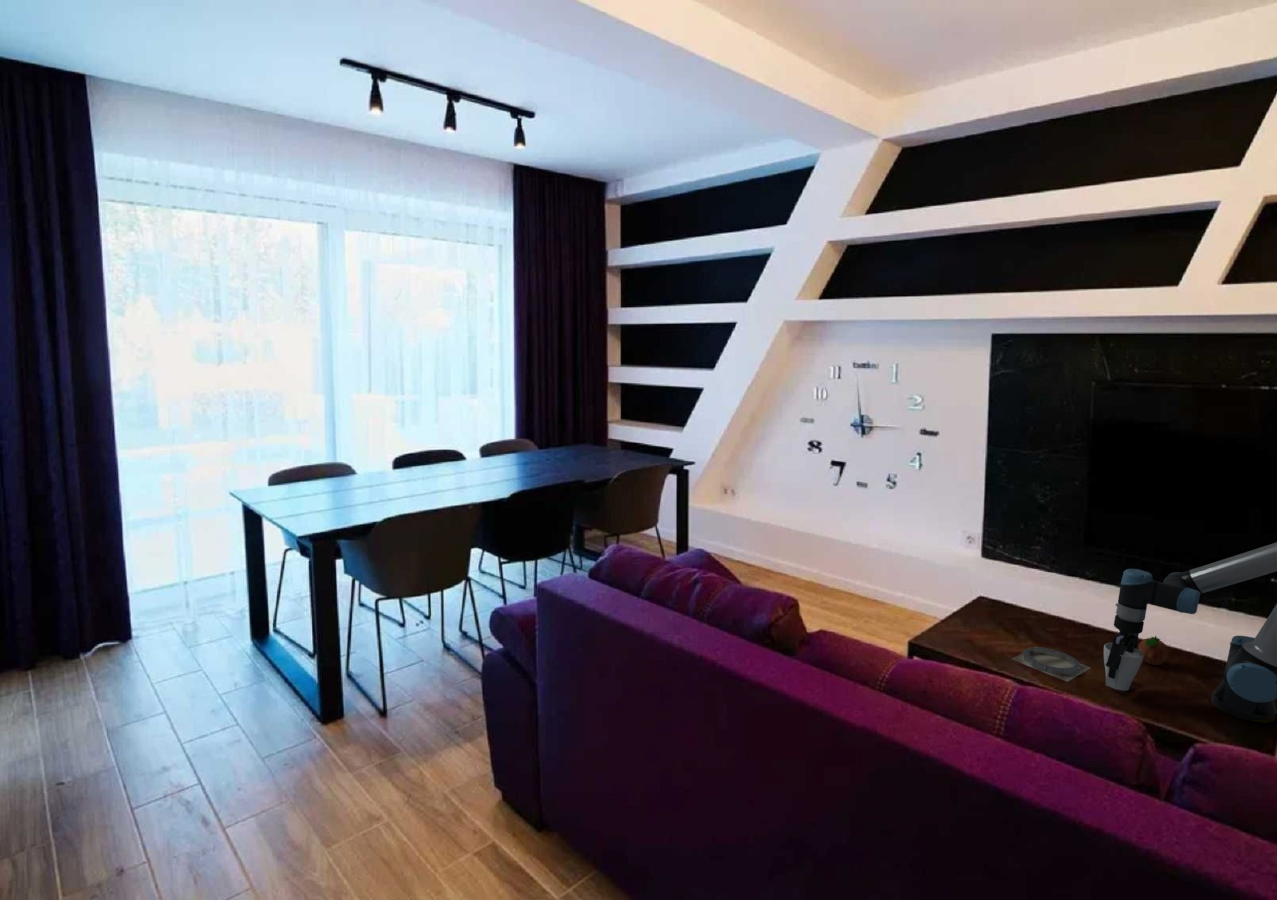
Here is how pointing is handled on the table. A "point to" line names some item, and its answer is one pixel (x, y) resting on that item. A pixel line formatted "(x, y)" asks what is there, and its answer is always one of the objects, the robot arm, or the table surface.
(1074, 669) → the ring collar
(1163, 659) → the fruit
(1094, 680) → the table surface
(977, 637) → the table surface
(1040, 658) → the board
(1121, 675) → the cup
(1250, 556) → the robot arm
